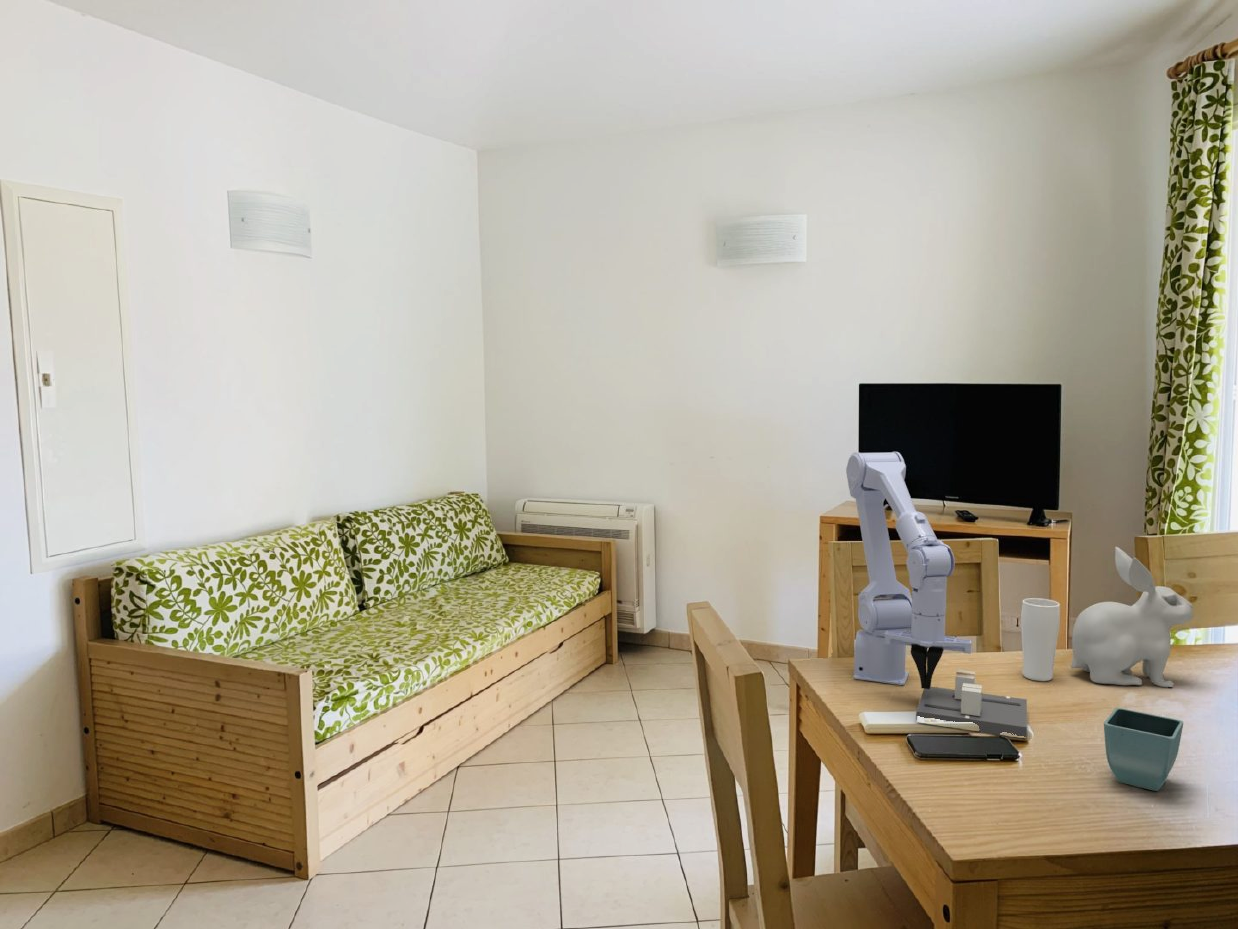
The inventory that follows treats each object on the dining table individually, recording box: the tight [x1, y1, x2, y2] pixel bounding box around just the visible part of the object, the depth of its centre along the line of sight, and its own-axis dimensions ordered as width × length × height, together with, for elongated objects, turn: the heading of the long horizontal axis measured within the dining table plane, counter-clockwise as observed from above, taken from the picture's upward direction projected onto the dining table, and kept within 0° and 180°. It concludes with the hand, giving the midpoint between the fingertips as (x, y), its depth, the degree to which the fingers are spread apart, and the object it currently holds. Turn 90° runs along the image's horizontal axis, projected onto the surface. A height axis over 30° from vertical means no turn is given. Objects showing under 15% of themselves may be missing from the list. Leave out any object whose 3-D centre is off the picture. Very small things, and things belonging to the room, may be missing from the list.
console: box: [915, 686, 1028, 738], centre depth 155 cm, size 17×14×2 cm
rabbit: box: [1070, 546, 1194, 688], centre depth 173 cm, size 12×21×25 cm, turn 77°
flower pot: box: [1103, 707, 1184, 792], centre depth 130 cm, size 9×9×9 cm
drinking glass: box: [1020, 597, 1061, 682], centre depth 175 cm, size 7×7×15 cm
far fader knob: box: [954, 669, 976, 700], centre depth 159 cm, size 3×4×4 cm
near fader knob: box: [961, 683, 983, 716], centre depth 152 cm, size 3×4×4 cm
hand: (925, 687), depth 162 cm, fingers closed
